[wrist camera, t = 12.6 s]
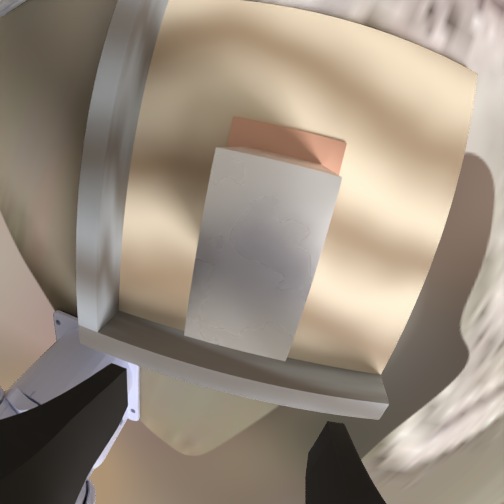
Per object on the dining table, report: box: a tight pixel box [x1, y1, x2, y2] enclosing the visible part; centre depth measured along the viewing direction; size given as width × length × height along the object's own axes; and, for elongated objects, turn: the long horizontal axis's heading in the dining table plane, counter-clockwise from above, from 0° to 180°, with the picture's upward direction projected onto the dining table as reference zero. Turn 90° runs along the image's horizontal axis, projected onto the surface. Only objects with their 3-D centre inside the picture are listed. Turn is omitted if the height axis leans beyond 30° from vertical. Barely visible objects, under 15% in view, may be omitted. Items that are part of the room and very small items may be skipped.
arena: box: [76, 0, 478, 420], centre depth 16 cm, size 22×20×4 cm
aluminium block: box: [184, 147, 342, 361], centre depth 14 cm, size 4×7×7 cm, turn 169°
